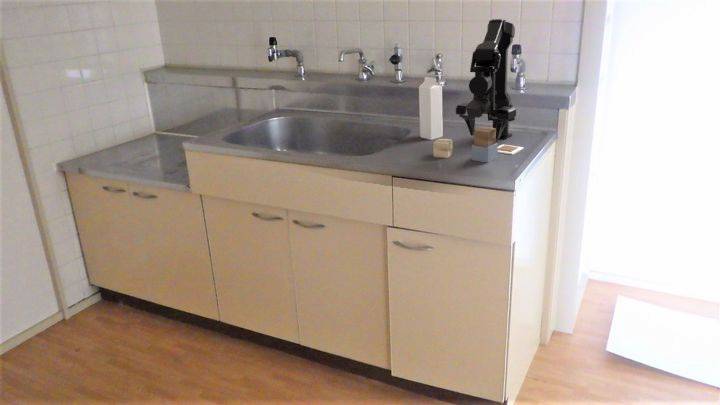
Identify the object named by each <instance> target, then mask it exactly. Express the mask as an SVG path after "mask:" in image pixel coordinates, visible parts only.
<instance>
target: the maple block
mask: <svg viewBox="0 0 720 405" xmlns="http://www.w3.org/2000/svg"><path fill="white" fill-rule="evenodd" d="M432 146H433V147H432V148H433V149H432V151H433V153H432V154H433V158H443V159H444V158H446V159H449V158H450V157H451V155H453V139H452V138H451V139H450V138H436V139H435V141H433V143H432Z"/></svg>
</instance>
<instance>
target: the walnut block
mask: <svg viewBox="0 0 720 405" xmlns="http://www.w3.org/2000/svg"><path fill="white" fill-rule="evenodd" d="M473 137H474V138H473V145H476V146H482V147H490V146H492V145H494V144H496V143H497V138H496V128H493V127H488V126H480V127H477V128H476V129H474V135H473Z"/></svg>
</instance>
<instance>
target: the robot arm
mask: <svg viewBox="0 0 720 405" xmlns="http://www.w3.org/2000/svg"><path fill="white" fill-rule="evenodd" d="M515 33H516V27H515V25H514V23H512V22H509V21H507V20H506V19H503V18H498V19H497V18H496V19H494V18H492V19H491V20H489V22H488V23H487V29H486V34H485V37H484V39H483V42H481V43H479V44H477V46H476V48H475V50H474V51H473V52H472V56H471V62H470V69H469V72H470V73H474V77H472V78H471V79H470V81H469V83H468V89H469V91H470V92H471V94H473V98H472V100H471V101H470V102H465V101H464V102H462V103H460V104H457V105H456V107H455V114H456V115H458V116H459V118H462V119H463V120H464V121H465V123H466V126H467V128H468V132H469V134H470V136H471V137H472V136H473V137H474V130H476V129H475V126H476V118H477V119H479V118H481V117H483V114H484V115H487V121H488V122H490V121H492V128H496V140H499V139H500V140H505V139H507V138H509V137H511V136H513V133H510V122H513V121H515V120H516V117H517V110H516V108H515V107H514V105H513V104H512V98H511V95H510V94H509V93H508V55H509V54H508V53H509V48H510V46H511V45H512V43H513V41H514V38H515V35H516V34H515Z"/></svg>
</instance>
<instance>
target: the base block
mask: <svg viewBox="0 0 720 405" xmlns="http://www.w3.org/2000/svg"><path fill="white" fill-rule="evenodd" d="M498 145H499V143H498V142H496V144H494V145H492V146H490V147H482V146H476V145H474V144H472V145H471V160H472V161H475V162H483V163H491V162H492V161H494V160H496V159H498V154H499V153H498Z"/></svg>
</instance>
